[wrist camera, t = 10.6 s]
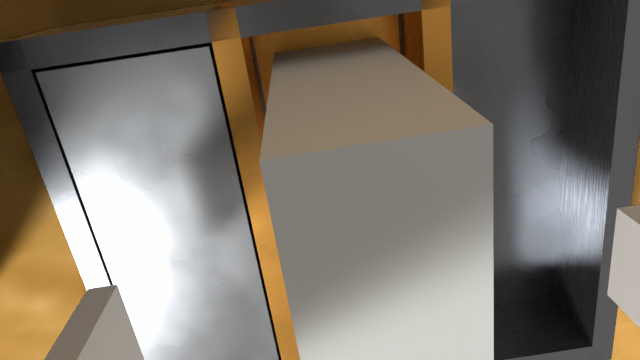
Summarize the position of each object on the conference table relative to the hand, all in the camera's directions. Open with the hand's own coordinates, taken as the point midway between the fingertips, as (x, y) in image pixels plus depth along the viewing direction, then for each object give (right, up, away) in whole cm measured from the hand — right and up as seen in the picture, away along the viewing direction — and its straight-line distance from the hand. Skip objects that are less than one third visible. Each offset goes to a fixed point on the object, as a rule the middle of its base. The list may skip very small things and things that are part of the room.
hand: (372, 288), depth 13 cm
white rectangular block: (0, +2, +5) cm, 6 cm away
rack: (0, +3, +7) cm, 7 cm away
